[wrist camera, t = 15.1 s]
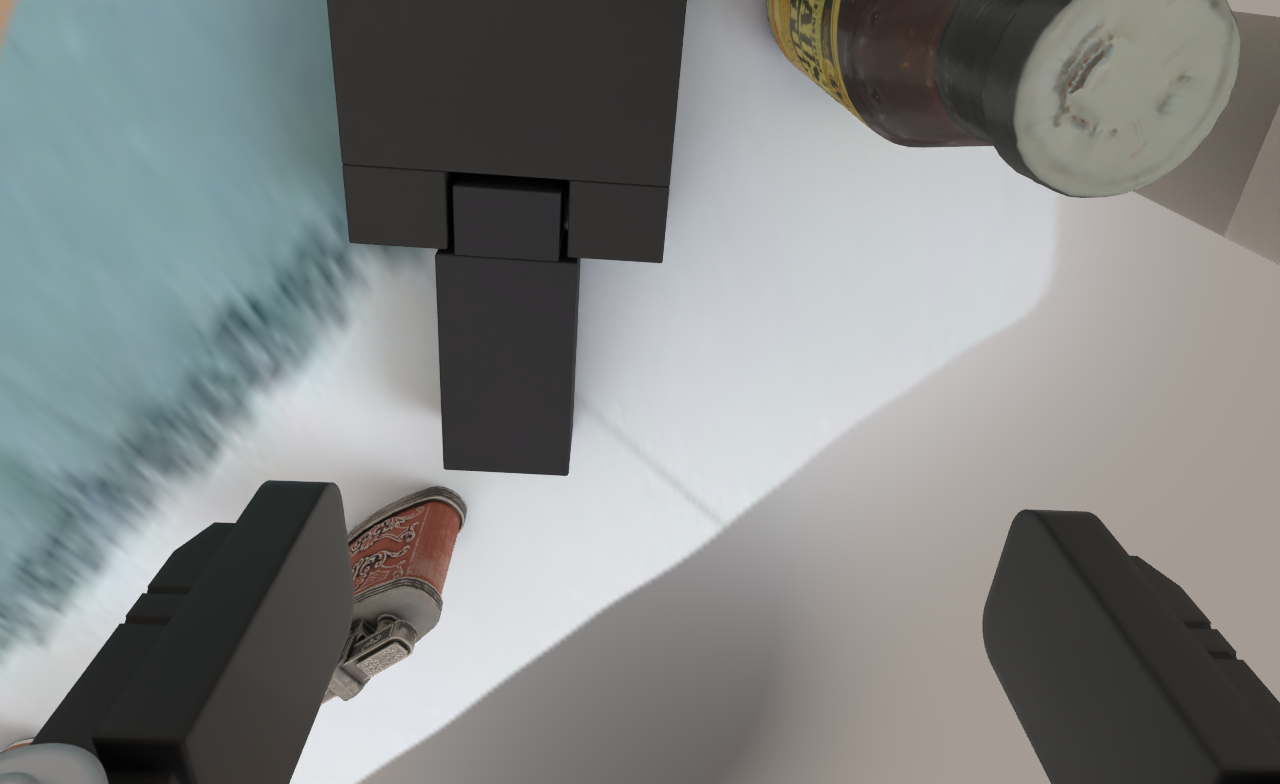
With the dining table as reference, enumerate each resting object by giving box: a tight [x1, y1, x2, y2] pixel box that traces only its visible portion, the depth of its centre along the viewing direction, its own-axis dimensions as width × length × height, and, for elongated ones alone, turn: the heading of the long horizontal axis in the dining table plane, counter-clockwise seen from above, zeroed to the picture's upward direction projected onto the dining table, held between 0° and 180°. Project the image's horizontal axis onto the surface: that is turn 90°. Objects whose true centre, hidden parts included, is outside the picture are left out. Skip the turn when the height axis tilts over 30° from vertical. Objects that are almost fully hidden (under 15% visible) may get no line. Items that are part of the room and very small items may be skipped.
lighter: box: [321, 487, 467, 705], centre depth 39 cm, size 8×3×10 cm, turn 124°
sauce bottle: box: [766, 0, 1241, 198], centre depth 23 cm, size 7×6×20 cm
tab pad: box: [435, 172, 580, 476], centre depth 36 cm, size 6×13×4 cm, turn 176°
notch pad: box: [327, 0, 687, 263], centre depth 32 cm, size 12×10×4 cm
